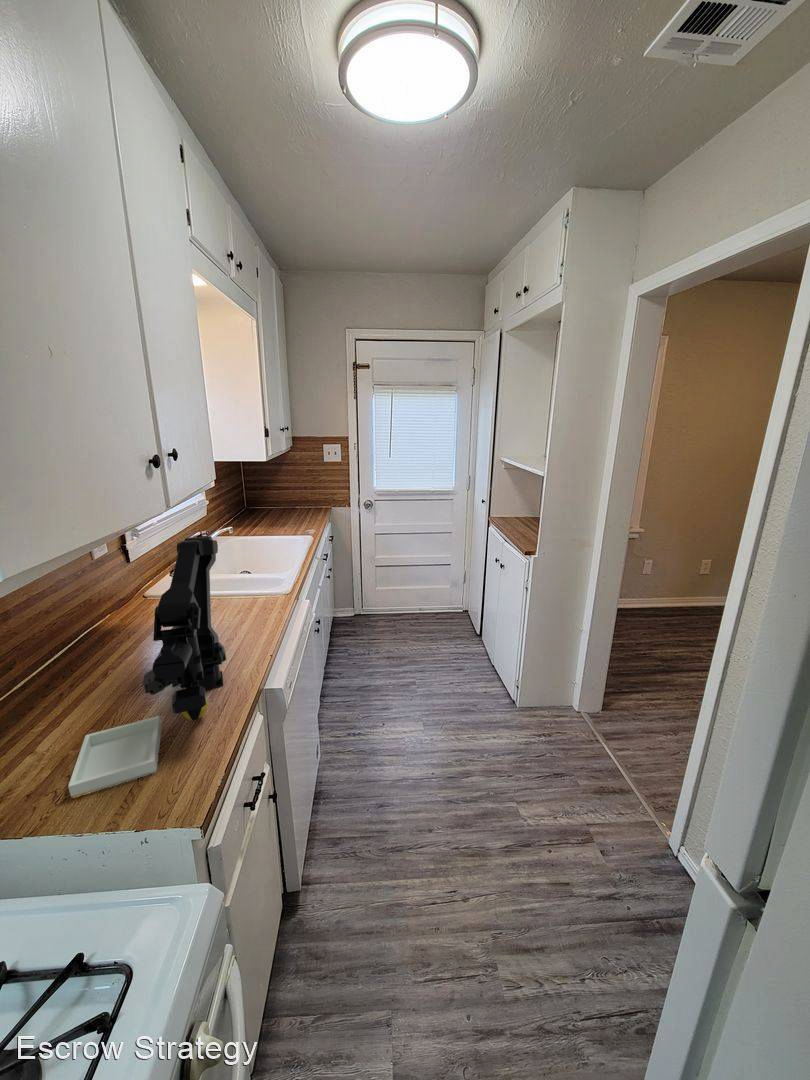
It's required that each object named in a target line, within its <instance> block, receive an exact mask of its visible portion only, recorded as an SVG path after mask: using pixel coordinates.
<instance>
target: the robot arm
mask: <svg viewBox="0 0 810 1080" xmlns="http://www.w3.org/2000/svg"><path fill="white" fill-rule="evenodd" d="M176 543H177V545H176V552H177V555H176V559H175V560H176V561H175V565H174V568H173V574H172V577H171V583H170V586H169V588H168V589H167V590H166V591H164V593H163V594H161V596H160V599H159V601H158V605H157V606H156V607H155V608H154V609H155V610H154V618H153V619H154V620H153V621H154V623H153V636H152V637H153V638H152V639H153V642H158V641H159V642H160V641H161V642H162V646H161V648H160V651H159V652H158V654H157V656H156V658H155V660H154V662H153V664H152V669H151V670H149V671H147V672H146V673H145V674H144V675H143V680H142V685H143V688H144V692H145V694H149V695H151V696H154V695H157V694H158V693H160V692H162V691H163V690H164V689H165V688H167V687H169V686H170V685H171V686H172V688H175V687H176V688H177V687H180V689H179V690H176V691H175V692H174V693H173V695H171V697H172V698H171V709H172V713H173V714H175V715H177V714H182V712H185V711H187V713H188V714H189V716H190V717H191V719H192V720H191V721H192V722H193V721H197V720H198V719H200V718H199V715H200V712H201V709H202V707H204V706H205V705H206V698H207V695H206V694H207V693H206V691H207V690H211V689H216V688H218V687H222V686H223V685H224V677H223V671H222V670H221V669H220V668H221V667H220V666H222V665H223V663H224V662H225V661H226V660H227V655H226V650H225V646H224V645H223V644H222V643H221V642H219V640H220V639H219V635H218V634H217V632H216V631H215V629H214V628H213V627H212V614H211V613H212V610H211V609H212V608H211V577H210V571H211V569H212V568H213V566H214V564H215V563H216V560H217V559H216V557H217V556H216V555H217V554H218V550H219V548H218V547H219V546H218V541H217V540H215V539H213V537H212V536H210V535H209V536H194V537H193V536H192V537H185V538H184V540H181V541H179V542H178V541H177V542H176ZM162 627H163V628H168V629H162ZM170 627H171V628H170ZM169 628H170V629H169Z"/></svg>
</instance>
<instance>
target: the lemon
mask: <svg viewBox="0 0 810 1080" xmlns="http://www.w3.org/2000/svg"><path fill="white" fill-rule="evenodd" d="M208 704H209V703H208V698H207V697H206V705H205V706H204V707H202V709H201V712H200V715H199V718H198V719H200V718H202V717H203V716H204V715H205V713H206V712H207V711H208V710H207V709H208ZM181 714H182V716H183V717H184V718H186V719H187V720H190V721H193V720H192V719H191V717H190V716H189V714H188V713H187V711H185V712H181Z"/></svg>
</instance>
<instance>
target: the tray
mask: <svg viewBox="0 0 810 1080" xmlns="http://www.w3.org/2000/svg"><path fill="white" fill-rule="evenodd" d="M161 736H162V723H161V716H160V715H158V716H153V717H150V718H145V719H142V720H138V721H134V722H130V723H127V724H124V725H119V726H116V727H111V728H108V729H103V730H100V731H96V732H92V733H88V734H85V736H84V739H83V743H82V744H81V748H80V750H79V754H78V756H77V760H76V762H75V765H74V769H73V772H72V774H71V777H70V781H69V782H68V786H67V787H68V791H69V794H70V798H71V797H72V796H75V795H78V794H82V793H87V792H90V791H94V790H99V789H104V788H107V787H110V786H114V785H116V784H119V783H123V782H126V781H130V780H133V779H136V780H138V779H137V778H140V777H143V776H146V775H149V774H152V775H154V774H153V773H156V770H157V771H158V764H157V762H159V755H158V753H160V746H161V745H160V744H161ZM156 774H157V773H156ZM149 776H150V775H149ZM146 777H147V776H146ZM143 778H144V777H143ZM140 779H141V778H140ZM133 781H134V780H133ZM130 782H131V781H130ZM123 784H124V783H123ZM114 787H115V786H114ZM110 788H111V787H110ZM107 789H108V788H107ZM104 790H105V789H104Z"/></svg>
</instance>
